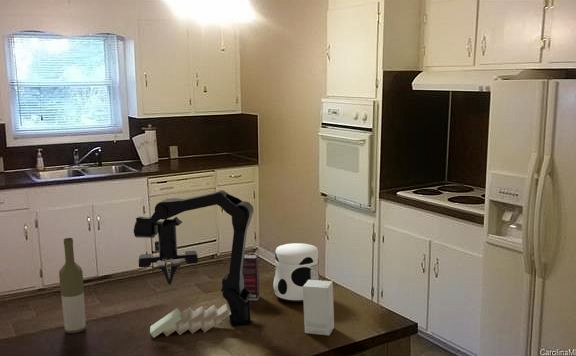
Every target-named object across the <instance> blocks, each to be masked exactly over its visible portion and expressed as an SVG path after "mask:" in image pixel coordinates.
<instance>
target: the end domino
mask: <svg viewBox="0 0 576 356" xmlns="http://www.w3.org/2000/svg"><path fill="white" fill-rule="evenodd" d="M217 309H218V313H219V316H217V317H216V318H214V319H213V320H211V321H210V322H209V323H207V324H206V325H204V326H203V327H201V328H200V329H201V330H202V331H203V333H206V332H208V331H209V330H210V329H212V328H213V327H214V326H216V325H218V324H219V323H221V322H222V321H223V320H225V319H226V318H229V315H231V311H230V308H229V304H228V303H224V304H223V305H222V306H220V307H219V308H217Z"/></svg>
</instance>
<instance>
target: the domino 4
mask: <svg viewBox="0 0 576 356" xmlns="http://www.w3.org/2000/svg"><path fill="white" fill-rule="evenodd" d="M218 309H219V308H217V306H216V305H215V304H212V305H211V306H210V307H208V308H207V309H205V310H206V315H207V317H205V318H204V319H202V320H201V321H200V322H198V323H197V324H195V325H194V326H192V327H191V328H189V329H188V331H189V332H190V333H191V334H192V335H193V334H194V333H196V332H198V330H200V329H202V328H201V327H203V326H204V325H206V324H207V323H209V322H210V321H211V320H213V319H214V318H216V317H217V316H219V313H218Z"/></svg>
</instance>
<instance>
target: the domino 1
mask: <svg viewBox="0 0 576 356" xmlns="http://www.w3.org/2000/svg"><path fill="white" fill-rule="evenodd" d="M181 312H182V311H180V310H179V308H178V307H177V308H175V309H173V310H172V311H171V312H169V313H168V314H166V315H165V316H164V317H162V318H161V319H159V320H157V321H156V322H154V323H153V324H151V326H150V328H149V334H150V335H151V336H152V338H153V339H154V338H156V337H158V336H159V335H160V334H162V333H164V332H163V331H165V330H166V329H168V328H169V327H171V326H172V325H173V324H175V323H176V322H178V321H179V320H181Z"/></svg>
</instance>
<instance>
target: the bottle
mask: <svg viewBox="0 0 576 356" xmlns="http://www.w3.org/2000/svg"><path fill="white" fill-rule="evenodd" d="M63 247H64V259H65V262H64V264H63V265H62V266H61V268H60V269H59V272H58V277H59V285H60V286H59V287H60V296H61V306H62V315H63V325H64V331H65V333H68V334H76V333H81V332H83V331H84V330H85V329H86V326H87V325H86V311H85V310H86V307H85V306H86V305H85V293H84V290H85V289H84V288H85V287H84V274H83V268H82V267H81V266H80V265H79V264H78V263H77V262H76V261H75V252H74V239H73V237H66V238H65V237H64V238H63Z"/></svg>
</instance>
